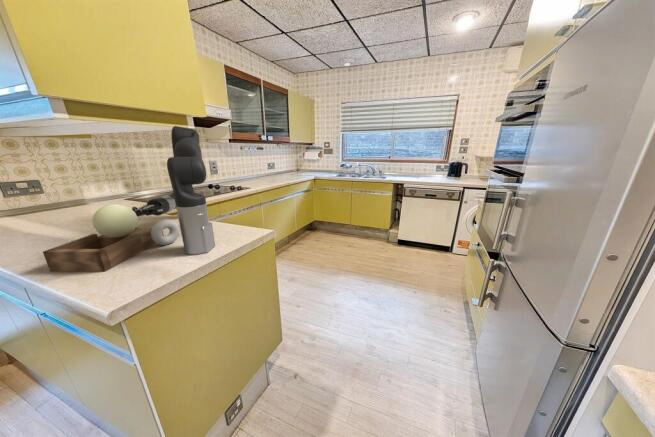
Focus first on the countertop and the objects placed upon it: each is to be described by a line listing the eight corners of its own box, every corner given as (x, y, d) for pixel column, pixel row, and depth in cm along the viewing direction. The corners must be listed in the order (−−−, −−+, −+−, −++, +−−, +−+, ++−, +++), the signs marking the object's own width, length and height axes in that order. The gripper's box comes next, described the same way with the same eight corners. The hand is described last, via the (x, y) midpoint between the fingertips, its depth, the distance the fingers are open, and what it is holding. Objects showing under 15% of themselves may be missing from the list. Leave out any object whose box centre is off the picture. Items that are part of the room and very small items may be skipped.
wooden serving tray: (164, 239, 94) (161, 224, 92) (105, 271, 69) (99, 251, 67) (123, 239, 94) (119, 224, 92) (50, 271, 69) (42, 251, 67)
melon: (149, 211, 89) (123, 198, 78) (141, 241, 85) (112, 232, 74) (119, 211, 89) (88, 198, 78) (109, 241, 85) (76, 232, 74)
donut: (157, 249, 84) (151, 224, 81) (151, 248, 86) (145, 222, 83) (183, 240, 93) (179, 217, 90) (178, 239, 94) (173, 216, 91)
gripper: (145, 197, 103) (110, 206, 86) (174, 197, 103) (145, 206, 86) (149, 213, 105) (115, 224, 89) (177, 213, 105) (149, 224, 89)
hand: (130, 215), depth 88 cm, fingers closed
